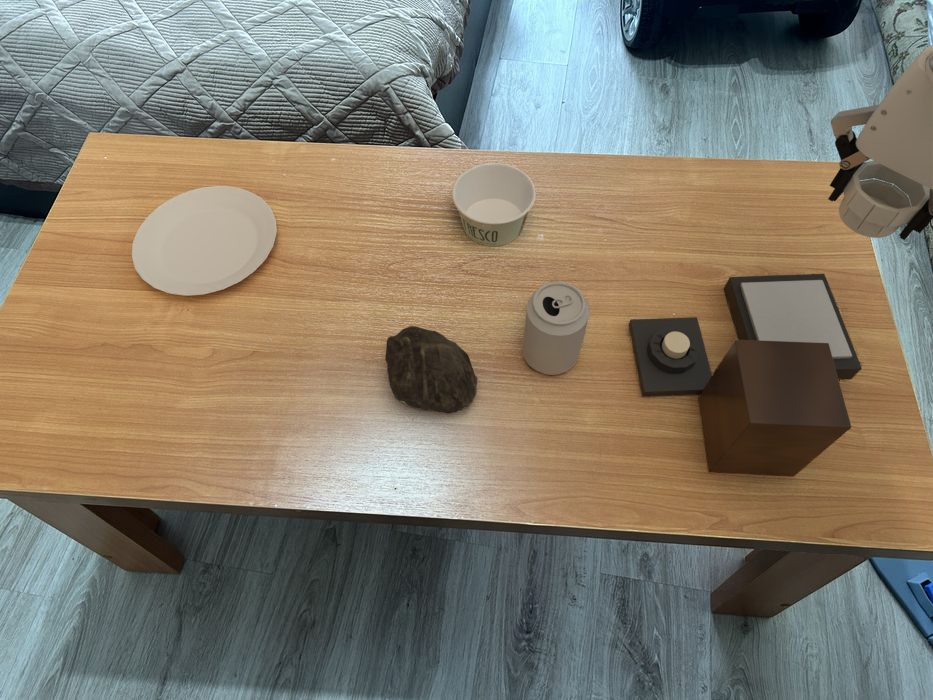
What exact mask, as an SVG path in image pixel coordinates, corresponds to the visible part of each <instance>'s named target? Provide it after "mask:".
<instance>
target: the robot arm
mask: <svg viewBox="0 0 933 700" xmlns="http://www.w3.org/2000/svg"><path fill="white" fill-rule="evenodd" d="M830 125H831V129H832V133H833V136H834V137H835V141H834V145H835V148H836V150H837V154H838V156H839V159H840V161H839V164H838V165H839V170H838V171H837V173H836V175H835V176H834V178H833V179H832V181H831V182H830V183H829V187H831V188H833V191H832V192H831V194H830V195H829V196H828V198H827V200H829V201H831V202H836V201H837V200H838V199H839V198H840V196H842V194H844V193H843V190H844V188H845V186H846V185H847V183H848V182H849V180H850V179H851V177H852V176H853V174H854V173H855V172H856V171H857V170H858V168H859V167H860V166H861V165H862V164H863V163H864V162H868V161H870V160H871V161H876V162H878V163H880V164H882V165H884V166H886V167H888V168H890V169H892V170H894V171H896V172H898V173H900V174H902V175H904V176H906V177H908V178H910V179H912V180H914V181H916V182H918V183H920V184H922V185H924V186H926V187H928V189H929V192H930V194H929V199H928V200H927V202H926V203H925V204H924V206H923V207H922V208H921V209H920V210H919V212H918V213H917V214H916V215H915V216H914V218H913V219H912V220H911V221H910V222H909V224H907V225H905V227H904V228H903V230H902V231H901V232H900V233H899V234H898V236H899V238H900V240H901V239H902V240H903V241H906V240H907V238H908V237H909V236H910V235H911V233H912V232H913V231H914V232H916V233H918V234H921V233H922V232H923V231H924V229H925V228H926V227H927V226H928V225H929V223H930V222H931V221H932V220H933V44H931V45H929V46H926V47H925V48H924V49H923V50H922V51H921V52H920V53H919V54H918V55H916V57H915V58H914V60H912V61H911V62H910V64H909V65H908V66H907V68H905V69H904V71H903V72H902V74H901V75H900V76H899V78H897V80H896V81H895V83H894V84H893V86H892V87H891V88H890V89H889V91H888V92H887V94H886V95H885V96H884V98H883V99H882V100H881V101H880V103H879V104H875V105H869V106H863V107H858V108H853V109H846V110H841V111H837V113H836V114H835V115H834V116H833V117H832V118H831V120H830ZM857 126H863V128H862V129H861V131H860V133H859V134H858V136H856V135H857V134H856V133H855V131H853V127H857Z"/></svg>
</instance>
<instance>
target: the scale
mask: <svg viewBox="0 0 933 700" xmlns="http://www.w3.org/2000/svg"><path fill="white" fill-rule="evenodd" d="M723 292H724V295H725V298H726V302H727V305H728V308H729V312H730V316H731V319H732V322H733V325H734V329H735V333H736V336H737V340H760V341H787V342H813V343H829V346H830V350H831V354H832V357H833V361H834V365H835V369H836V372H837V376H838V380H850V379H851V380H852V379H853V378H855V376H856V375H857V374H858V373H859V372H860V371H861V370H862V369H863V367H862V364H861V362H860V359H859V357H858V355H857V352H856V349H855V347H854V344H853V342H852V340H851V337H850V335H849V332H848V329H847V327H846V324H845V322H844V320H843V317H842V314H841V312H840V309H839V307H838V305H837V302H836V299H835V297H834V294H833V292H832V289H831V287H830V284H829V282H828V279H827V277H826V274H825V273H803V274H801V273H800V274H776V275H775V274H774V275H773V274H771V275H749V276H747V275H746V276H745V275H744V276H743V275H742V276H729V278H728V279H727V280H726V283H725V285H724V286H723Z"/></svg>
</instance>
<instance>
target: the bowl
mask: <svg viewBox="0 0 933 700" xmlns="http://www.w3.org/2000/svg"><path fill="white" fill-rule="evenodd" d="M842 194H843V198H842V200H841V201H840V203H839V206H838V215H839V218H840V220H841V221H842V222H843V224H844V225H845V226H846V227H847V228H848V229H849V230H851V231H852V232H854V233H856V234H858V235H861V236H863V237H868V238H873V239H880V238H881V239H882V238H886V237H889V236H891V235H894V233H896V231H898V229H899V228H900V227H901V226H906V225H907V224H909V222H910V221H911V220H912V219H913V218H914V216H915V215H916V214H917V213H918V212H919V210H920V209H921V208H922V207H923V206H924V204H925V203H926V202H927V200H928V199H929V194H930V188H928V187H926V186H924V185H922V184H920V183H918V182H916V181H914V180H912V179H910V178H908V177H906V176H904V175H902V174H900V173H898V172H896V171H894V170H892V169H890V168H888V167H886V166H884V165H882V164H880V163H878V162H876V161H874V160H871V161H870V160H869V161H865V162H864V163H863V164H862V165H861V166H860V167H859V168H858V170H857V171H856V172H855V173H854V174H853V176H852V177H851V179H850V180H849V182H848V183H847V185H846V186H845V188H844V190H843V193H842Z"/></svg>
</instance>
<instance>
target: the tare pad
mask: <svg viewBox="0 0 933 700" xmlns="http://www.w3.org/2000/svg"><path fill="white" fill-rule="evenodd" d="M700 327H701V326H700V324H699V319H698V317H696V316H689V317H663V318H638V319H637V318H633V319H629V323H628V330H629V335H630V341H631V345H632V350H633V356H634V361H635V366H636V371H637V377H638V382H639V388H640V391H641V392H640V393H641V397H648V398H649V397H673V396H674V397H675V396H700V394H701V393H702V391H703V389H704V388H705V386H706V385H707V383H708V381H709V380H710V378H711V377H712V375H713V373H712V370H711V365H710V361H709V358H708V355H707V350H706V346H705V342H704V339H703V335H702V331H701V328H700ZM670 332H681V333H683V334H685V335H686V336H687V337H688V339H689V341H690V347H689V349H688V351H687V353H686V354H685V356H683V357H682V358H678V359H674V358H670V357H668V356H667V355H666V354H665V353H664V352H663V350H662V343H663V340H664V338H665V336H666V335H667V334H668V333H670Z"/></svg>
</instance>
